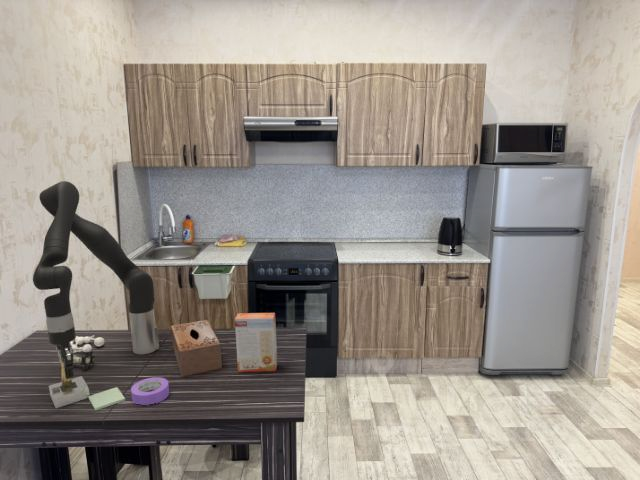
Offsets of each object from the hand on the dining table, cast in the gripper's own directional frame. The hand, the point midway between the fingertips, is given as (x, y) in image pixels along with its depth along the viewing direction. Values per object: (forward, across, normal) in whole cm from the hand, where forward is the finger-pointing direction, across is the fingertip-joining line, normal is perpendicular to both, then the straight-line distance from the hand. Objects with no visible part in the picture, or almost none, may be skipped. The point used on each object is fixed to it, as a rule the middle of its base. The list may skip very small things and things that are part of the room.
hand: (68, 375), depth 149 cm
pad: (+8, +10, +8) cm, 15 cm away
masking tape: (+8, +17, +20) cm, 28 cm away
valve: (+8, -22, +6) cm, 24 cm away
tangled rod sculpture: (+8, -39, +10) cm, 41 cm away
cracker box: (+9, +24, +57) cm, 63 cm away
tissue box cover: (+9, +1, +44) cm, 44 cm away
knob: (+4, 0, -1) cm, 4 cm away
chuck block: (+8, 0, 0) cm, 8 cm away
